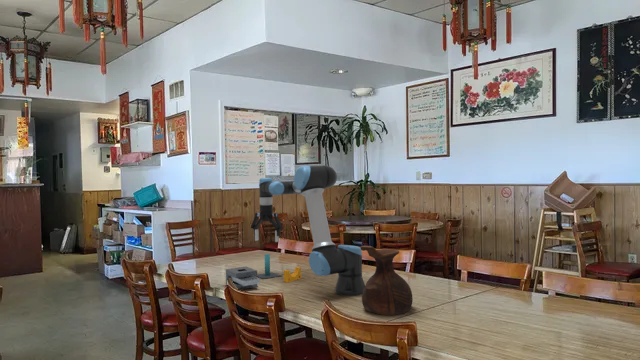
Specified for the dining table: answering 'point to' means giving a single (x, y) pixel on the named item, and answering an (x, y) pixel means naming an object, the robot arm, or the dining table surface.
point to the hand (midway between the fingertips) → (266, 241)
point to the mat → (272, 275)
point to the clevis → (243, 277)
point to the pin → (267, 264)
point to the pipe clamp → (292, 275)
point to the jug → (385, 286)
